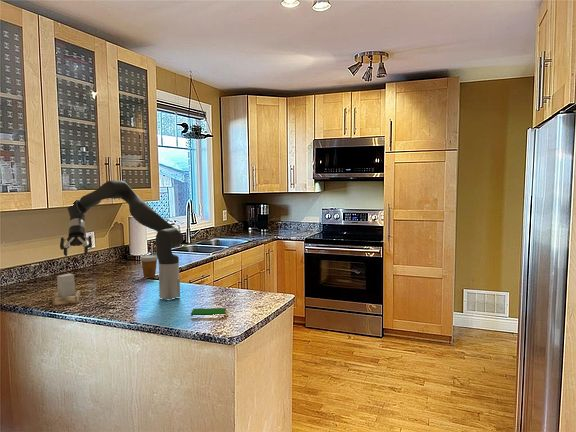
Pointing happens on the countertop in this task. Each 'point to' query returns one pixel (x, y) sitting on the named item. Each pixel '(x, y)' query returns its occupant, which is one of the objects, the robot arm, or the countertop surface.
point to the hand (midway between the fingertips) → (75, 254)
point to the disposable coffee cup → (149, 265)
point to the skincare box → (66, 285)
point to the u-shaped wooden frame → (65, 299)
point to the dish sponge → (208, 311)
